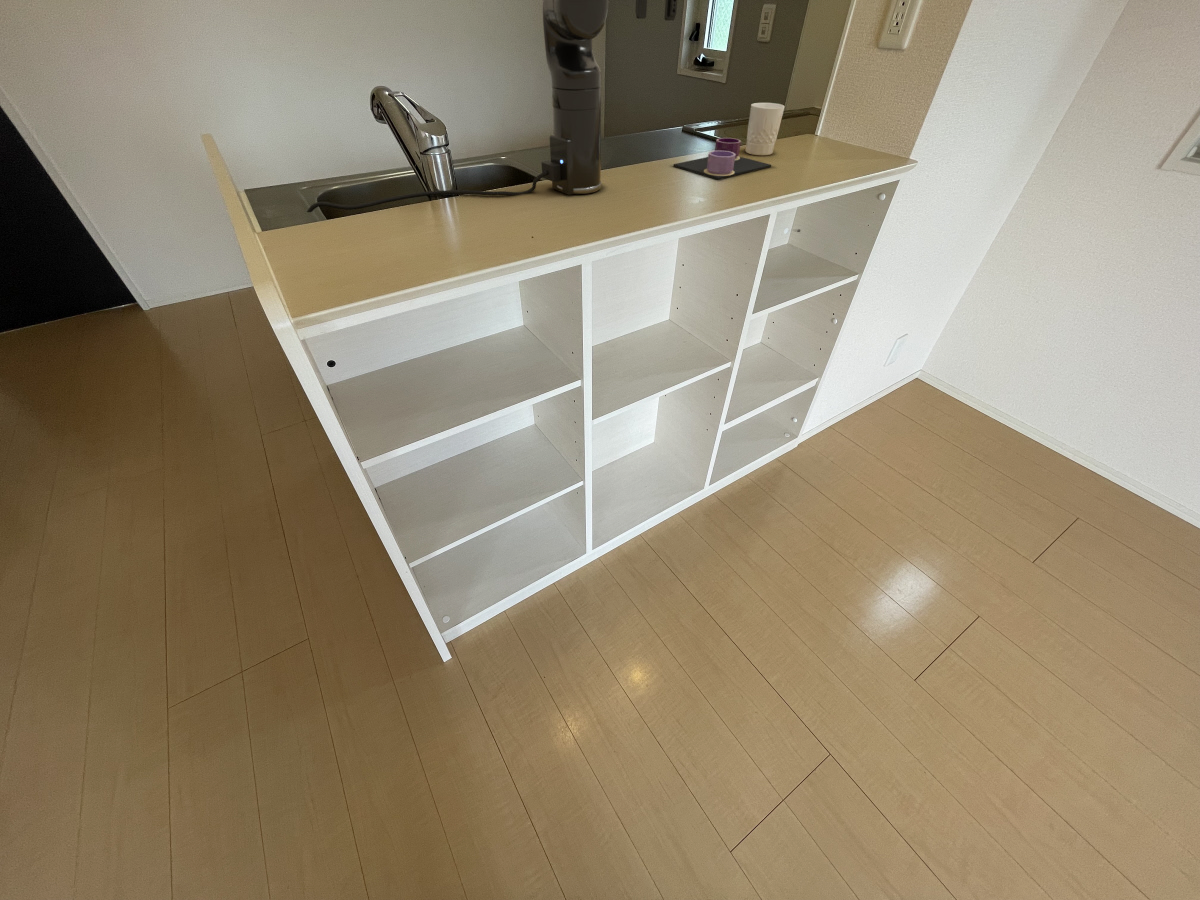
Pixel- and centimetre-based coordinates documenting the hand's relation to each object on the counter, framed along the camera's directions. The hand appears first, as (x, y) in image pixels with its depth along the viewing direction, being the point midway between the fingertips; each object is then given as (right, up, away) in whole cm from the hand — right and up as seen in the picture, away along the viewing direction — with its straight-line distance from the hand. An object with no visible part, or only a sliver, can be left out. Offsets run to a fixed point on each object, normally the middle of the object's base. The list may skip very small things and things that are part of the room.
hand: (654, 19), depth 101 cm
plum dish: (+20, -15, +21) cm, 33 cm away
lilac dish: (+16, -24, +11) cm, 31 cm away
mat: (+18, -20, +17) cm, 32 cm away
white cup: (+29, -11, +27) cm, 41 cm away
